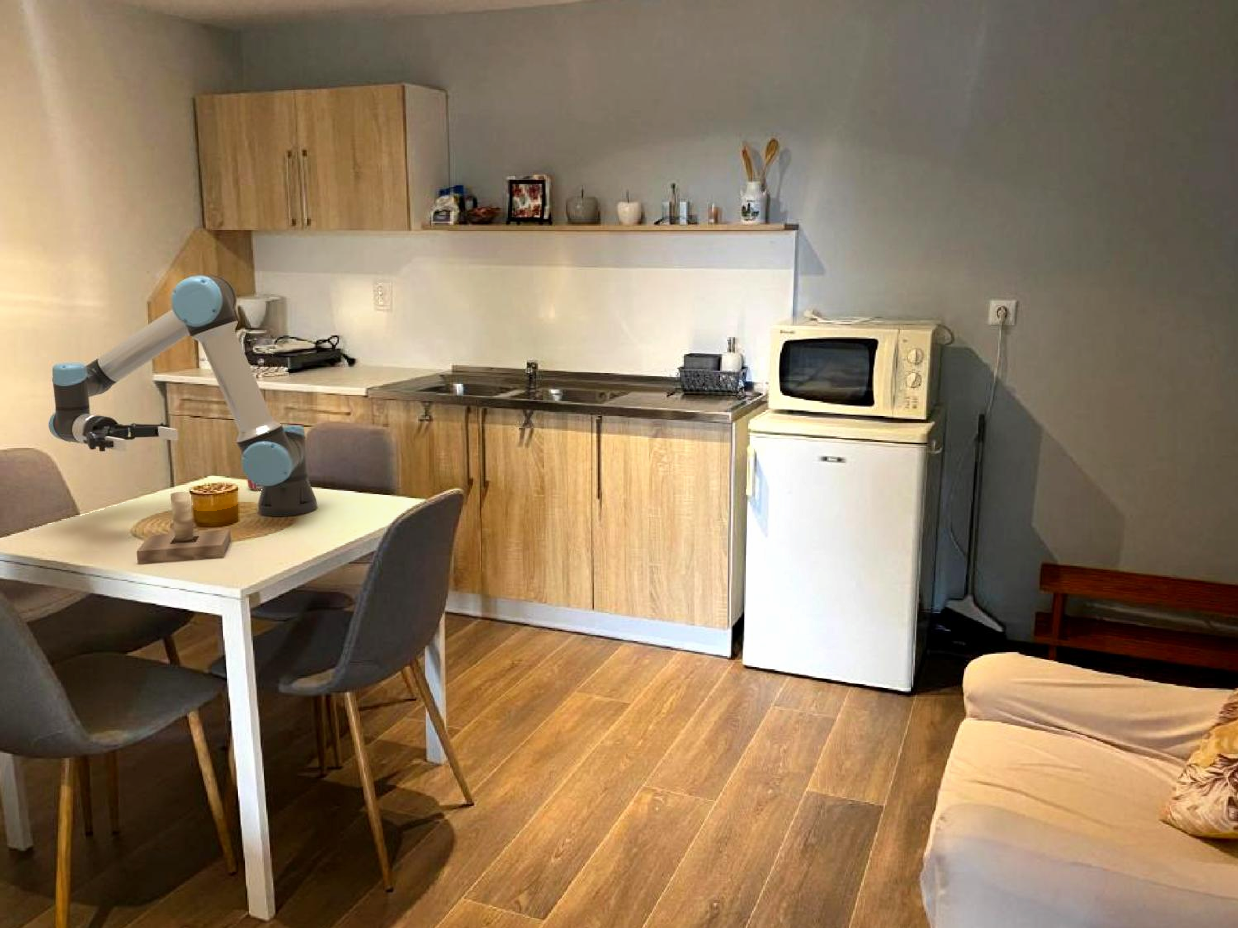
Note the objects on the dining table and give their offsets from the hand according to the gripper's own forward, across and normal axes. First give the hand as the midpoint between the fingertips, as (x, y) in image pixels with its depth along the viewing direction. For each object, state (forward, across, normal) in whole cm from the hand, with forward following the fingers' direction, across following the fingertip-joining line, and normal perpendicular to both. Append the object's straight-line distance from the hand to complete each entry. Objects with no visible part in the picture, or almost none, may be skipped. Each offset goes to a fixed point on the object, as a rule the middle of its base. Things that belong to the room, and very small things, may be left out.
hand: (151, 440), depth 241 cm
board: (+10, +1, -25) cm, 27 cm away
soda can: (-29, -53, -28) cm, 66 cm away
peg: (+10, +1, -25) cm, 27 cm away
